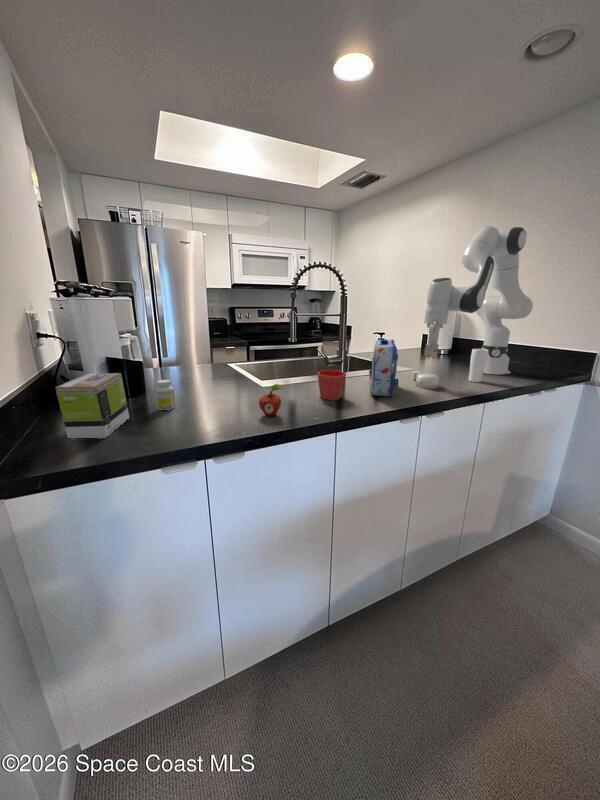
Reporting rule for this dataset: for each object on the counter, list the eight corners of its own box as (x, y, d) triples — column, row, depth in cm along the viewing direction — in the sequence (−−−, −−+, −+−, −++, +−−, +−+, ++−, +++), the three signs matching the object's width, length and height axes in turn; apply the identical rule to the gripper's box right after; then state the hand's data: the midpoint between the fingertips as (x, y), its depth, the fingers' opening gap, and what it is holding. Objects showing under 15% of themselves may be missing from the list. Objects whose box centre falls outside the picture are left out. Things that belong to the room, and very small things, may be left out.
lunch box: (397, 402, 118) (404, 342, 111) (369, 400, 120) (374, 341, 113) (392, 384, 143) (397, 334, 137) (369, 382, 145) (373, 334, 139)
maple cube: (424, 354, 139) (426, 343, 138) (436, 355, 138) (438, 344, 136) (424, 356, 135) (425, 344, 133) (436, 357, 133) (438, 345, 132)
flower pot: (347, 395, 125) (349, 371, 122) (339, 403, 116) (340, 377, 113) (322, 392, 129) (323, 368, 126) (312, 399, 120) (313, 374, 117)
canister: (416, 383, 146) (417, 372, 144) (437, 385, 143) (439, 374, 141) (415, 387, 138) (416, 376, 137) (437, 390, 135) (439, 378, 133)
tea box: (96, 419, 97) (87, 372, 93) (130, 419, 98) (123, 372, 93) (66, 440, 83) (53, 385, 78) (106, 439, 84) (96, 385, 79)
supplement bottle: (167, 412, 104) (163, 383, 101) (154, 409, 106) (151, 382, 103) (178, 407, 109) (175, 380, 106) (166, 405, 111) (163, 378, 108)
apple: (272, 420, 98) (271, 389, 95) (255, 416, 101) (254, 386, 98) (286, 413, 104) (286, 384, 101) (269, 409, 108) (269, 381, 105)
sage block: (410, 378, 154) (411, 370, 153) (418, 379, 154) (419, 370, 153) (412, 380, 150) (414, 372, 149) (421, 381, 150) (422, 372, 149)
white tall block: (478, 379, 153) (484, 348, 149) (485, 383, 147) (491, 350, 142) (464, 379, 154) (469, 348, 150) (470, 382, 148) (476, 350, 143)
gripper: (444, 320, 121) (439, 356, 125) (443, 318, 139) (438, 349, 144) (427, 320, 124) (422, 355, 128) (428, 318, 142) (424, 349, 146)
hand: (431, 352), depth 136 cm, fingers closed on maple cube, 5 cm apart
